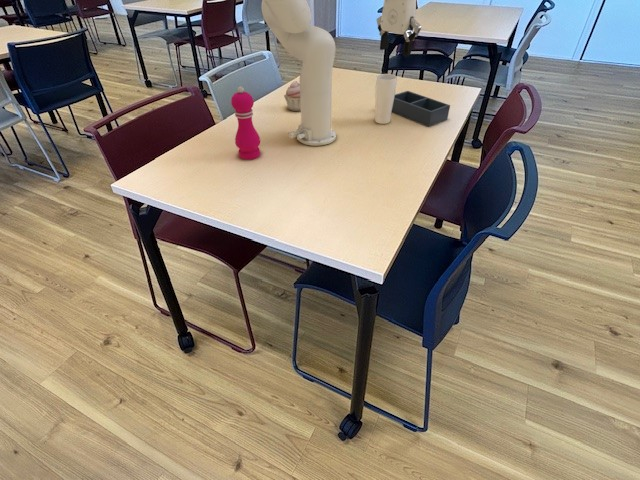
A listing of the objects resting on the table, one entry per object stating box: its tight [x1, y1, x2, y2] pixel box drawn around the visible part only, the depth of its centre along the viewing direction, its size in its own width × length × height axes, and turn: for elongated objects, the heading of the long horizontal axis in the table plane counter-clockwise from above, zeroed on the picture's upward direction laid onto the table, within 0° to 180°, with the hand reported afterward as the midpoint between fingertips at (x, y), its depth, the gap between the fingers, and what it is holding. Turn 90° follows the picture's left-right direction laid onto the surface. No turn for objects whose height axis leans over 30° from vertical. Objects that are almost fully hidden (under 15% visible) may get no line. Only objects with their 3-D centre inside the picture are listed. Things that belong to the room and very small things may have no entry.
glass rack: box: [391, 90, 451, 127], centre depth 135 cm, size 10×19×5 cm, turn 38°
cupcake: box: [283, 80, 301, 112], centre depth 139 cm, size 9×9×10 cm
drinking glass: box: [374, 73, 398, 125], centre depth 128 cm, size 7×7×15 cm
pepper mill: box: [230, 86, 261, 161], centre depth 107 cm, size 7×7×20 cm
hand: (394, 52), depth 121 cm, fingers open, 9 cm apart
